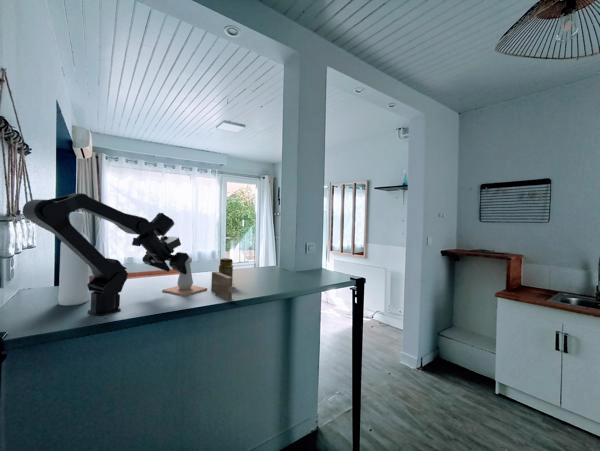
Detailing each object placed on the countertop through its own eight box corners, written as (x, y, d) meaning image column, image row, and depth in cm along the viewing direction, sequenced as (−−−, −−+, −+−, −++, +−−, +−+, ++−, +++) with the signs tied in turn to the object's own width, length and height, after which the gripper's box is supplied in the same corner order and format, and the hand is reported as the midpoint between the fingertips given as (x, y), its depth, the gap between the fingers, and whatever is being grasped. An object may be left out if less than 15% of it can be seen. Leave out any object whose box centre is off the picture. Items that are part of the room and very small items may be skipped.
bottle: (64, 299, 96) (66, 211, 96) (91, 298, 99) (94, 212, 99) (53, 306, 89) (56, 211, 88) (84, 305, 92) (87, 212, 91)
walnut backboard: (226, 299, 105) (227, 278, 105) (211, 291, 116) (211, 271, 116) (231, 298, 107) (232, 277, 106) (215, 290, 117) (216, 271, 117)
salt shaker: (191, 290, 112) (192, 258, 112) (175, 290, 111) (177, 257, 111) (193, 287, 118) (194, 256, 118) (178, 287, 117) (180, 255, 116)
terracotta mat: (184, 296, 107) (184, 294, 107) (162, 291, 112) (162, 289, 112) (207, 290, 117) (207, 288, 117) (186, 285, 123) (186, 284, 123)
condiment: (233, 284, 131) (234, 258, 130) (232, 288, 122) (234, 260, 122) (216, 284, 129) (217, 257, 129) (215, 288, 121) (216, 260, 120)
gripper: (186, 230, 102) (207, 258, 112) (151, 228, 110) (173, 254, 120) (166, 254, 95) (190, 281, 105) (130, 249, 103) (155, 275, 113)
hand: (177, 272), depth 111 cm, fingers open, 9 cm apart
